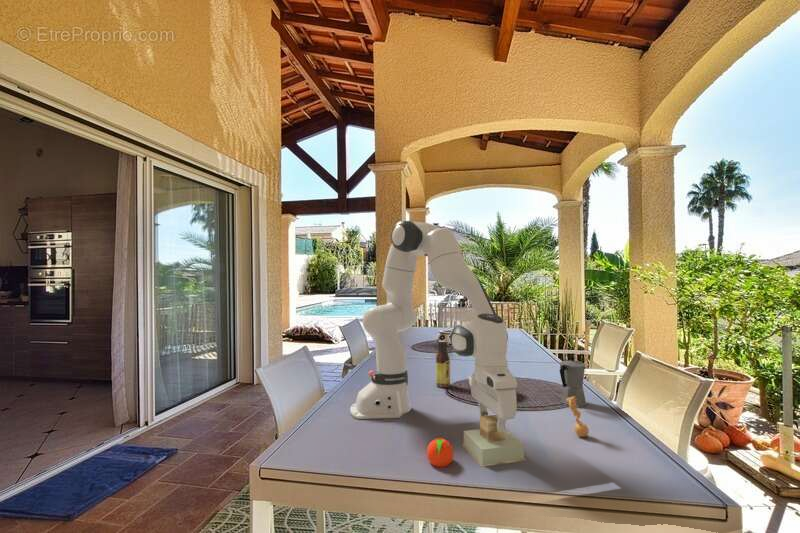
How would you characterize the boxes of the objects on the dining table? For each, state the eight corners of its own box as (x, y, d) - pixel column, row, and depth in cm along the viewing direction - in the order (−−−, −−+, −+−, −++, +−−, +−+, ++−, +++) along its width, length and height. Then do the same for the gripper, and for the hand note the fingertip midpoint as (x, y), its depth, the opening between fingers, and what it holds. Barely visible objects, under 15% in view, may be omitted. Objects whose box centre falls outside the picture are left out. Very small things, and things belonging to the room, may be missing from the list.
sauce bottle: (449, 388, 168) (448, 342, 168) (435, 387, 169) (434, 342, 169) (450, 384, 174) (450, 340, 175) (436, 383, 176) (436, 339, 176)
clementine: (453, 476, 96) (452, 447, 96) (425, 474, 97) (424, 445, 97) (454, 460, 104) (453, 434, 104) (428, 459, 105) (427, 432, 105)
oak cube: (488, 442, 104) (487, 423, 104) (480, 434, 108) (479, 416, 108) (505, 439, 105) (504, 421, 105) (496, 432, 110) (496, 414, 110)
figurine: (587, 443, 113) (587, 402, 114) (565, 439, 116) (565, 399, 117) (589, 432, 121) (588, 394, 121) (568, 429, 124) (567, 391, 124)
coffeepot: (569, 396, 155) (568, 351, 156) (593, 402, 148) (592, 355, 148) (549, 405, 146) (548, 357, 146) (574, 412, 138) (573, 361, 138)
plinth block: (482, 465, 99) (482, 449, 99) (463, 445, 111) (463, 430, 111) (524, 459, 102) (523, 444, 102) (501, 440, 114) (501, 426, 114)
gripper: (465, 365, 116) (466, 411, 116) (498, 384, 96) (498, 440, 96) (484, 364, 118) (485, 409, 117) (520, 383, 98) (521, 438, 98)
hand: (491, 423), depth 107 cm, fingers open, 8 cm apart
